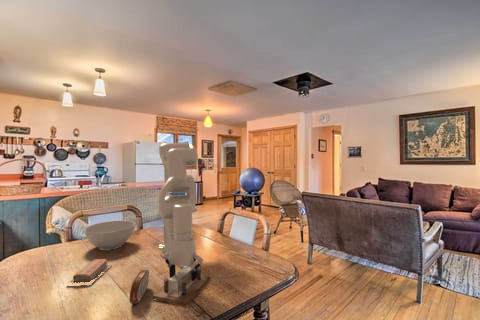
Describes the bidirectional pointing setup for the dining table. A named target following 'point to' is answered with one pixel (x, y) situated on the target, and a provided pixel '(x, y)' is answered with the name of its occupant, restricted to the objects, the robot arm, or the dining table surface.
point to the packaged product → (91, 271)
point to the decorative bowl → (110, 233)
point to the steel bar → (180, 280)
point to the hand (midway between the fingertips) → (183, 277)
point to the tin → (139, 286)
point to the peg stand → (186, 293)
